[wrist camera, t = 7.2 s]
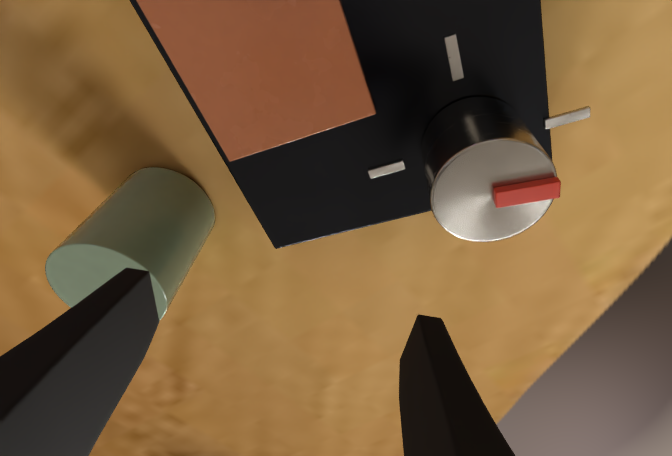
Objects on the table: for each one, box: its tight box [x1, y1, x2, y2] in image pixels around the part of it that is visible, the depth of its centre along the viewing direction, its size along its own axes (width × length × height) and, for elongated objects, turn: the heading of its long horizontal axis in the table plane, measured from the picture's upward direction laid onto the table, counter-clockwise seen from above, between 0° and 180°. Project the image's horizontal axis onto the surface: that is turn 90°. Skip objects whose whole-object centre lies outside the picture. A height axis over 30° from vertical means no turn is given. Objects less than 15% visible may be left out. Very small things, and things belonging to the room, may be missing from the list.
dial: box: [421, 97, 561, 242], centre depth 13 cm, size 4×4×4 cm
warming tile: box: [136, 0, 376, 161], centre depth 13 cm, size 6×6×1 cm
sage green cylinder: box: [45, 167, 215, 321], centre depth 18 cm, size 5×5×6 cm
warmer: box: [130, 0, 590, 249], centre depth 15 cm, size 12×13×3 cm
